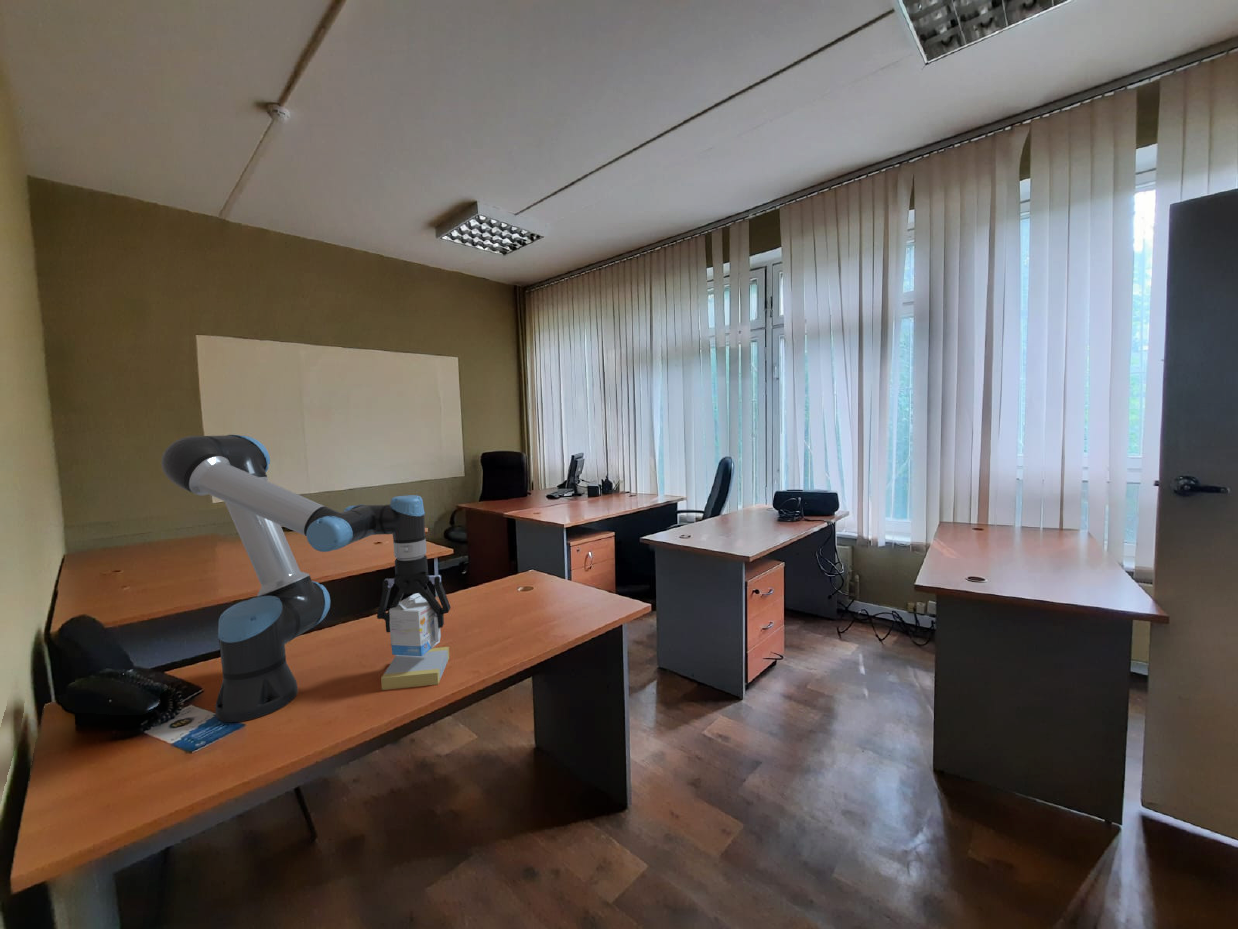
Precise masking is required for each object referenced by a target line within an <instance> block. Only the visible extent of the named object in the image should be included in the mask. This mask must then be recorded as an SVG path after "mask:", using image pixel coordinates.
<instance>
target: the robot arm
mask: <svg viewBox="0 0 1238 929" xmlns="http://www.w3.org/2000/svg"><path fill="white" fill-rule="evenodd" d="M269 464H271V458H270V453H269V451H268V449H267V447H266V446H265V445H264V444H263V443H262V442H260V441H259V440H258V439H255V438H253V437H251V436H246V435H240V434H239V435H238V434H227V435H203V436H202V435H192V436H191V435H190V436H185V437H183V438H179V439H178V440H176V441H174V442H172V443H171V444H170V445H169V446H167V448H166V449H165V450H164V452H163V454H162V456H161V468H162V471H163V473H164V474H165V477H166V478H167V479H168V480H170V482H171V483H173V484H174V485H176V486H178V487H179V488H181V489H183V490H185V491H187V492H189V493H193V494H194V495H197V496H207V495H210V496H212V497H213V498H217V499H218V500H221V501H223V502H224V504H225V506H226V509H227V510H228V513H229V514H230V515H229V516H230V517H231V519H232V521H233V524H234V527H235V529H236V531H237V533H238V536H239V538H240V540H241V542H242V545H243V547H244V549H245V552H246V554H247V556H248V558H249V560H250V562H251V566H252V567H253V570H254V573H255V574H256V577H257V579H258V581H259V584H260V586H261V587H260V589H259V592H258V593H257V596H256V597H252V598H250V599H248V600H243V601H242V600H241V601H240V602H237V603H235V604H233V605H231V606H230V607H228V608H227V609H226V610H224V611H223V612H222V613H221V614H220V617H219V618H218V629H217V637H218V642H219V650H220V652H219V653H220V654H219V655H220V661H221V662H220V663H221V670H222V682H221V685H220V689H219V692H218V696H217V699H216V702H215V706H214V708H215V717H216V719H217V718H218V719H220V720H222V721H221V722H226V723H238V722H245V721H250V720H253V719H254V720H255V719H258V718H260V717H261V718H262V717H263V716H266V715H268V714H269V715H270V714H271V713H273V712H276V711H277V710H280V709H282V708H284V707H285V706H287V705H288V704H289V703H291V702H292V701H293V700H294V699H295V698H296V696H297V695H298V692H299V691H298V682H297V680H296V678H295V677H294V675H293V673H292V671H291V669H290V666H289V665H288V663H287V657H286V644H288V643H290V642H291V641H292V640H294V639H296V638H297V637H299V636H300V635H302V634H304V633H305V632H307V631H310V630H311V629H313V628H315V627H316V626H317V625H318V624H319V623H321V622H322V621H323V620H324V619H325V617H326V616H327V615H328V612H329V610H330V608H331V597H330V593H329V591H328V590H327V588H326V587H325V586H324V585H323V584H320V583H319V582H318V581H314V580H313V579H312V578H311V577H312V576H311V575H310V574H309V573H307V572H304V571H301V570H300V567H299V565H298V563H297V560H296V558H295V556H294V553H293V551H292V549H291V546H290V545H289V542H288V539H287V538H286V535H285V532H284V531H283V528H282V527H284V528H286V529H289V530H291V531H294V532H296V533H298V534H300V535H303V536H304V537H306V539H307V542H308V544H309V545H310V546H311V547H312V549H314V550H316V551H318V552H322V553H327V552H332V551H338V550H340V549H342V548H345V547H346V546H348V545H350V544H353V543H354V542H358V541H361V540H363V539H365V538H368V537H371V536H376V535H379V536H380V535H392V540H393V541H392V542H393V543H392V544H393V555H394V556H393V557H394V558H395V560H394V570H395V576H394V578H389V577H387V578H385V579H384V580H383V581H382V583H381V584H382V585H381V586H382V594H381V597H380V598H381V599H380V601H379V605H378V610H377V613H376V618H377V619H378V620H384V621H385V632H386V633H387V634H388V633H389V634H390V635H389V636H390V638H391V628H390V614H389V610H388V611H387V606H388V603H389V599H390V598H389V597H390V595H391V590H392V587H393V586H394V584H395V585H396V586H397V588H398V592H397V593H396V596H395V598H394V599H393V602H392V603H391V605H390V607H389V609H391V608H396V607H397V605H398V604H399V602H400V601H402V600H403V597H404V595H410V594H415V593H419V594H420V595H421V596H422V597H423V598H424V599H426V601H427V602H428V603H429V605H430V606H431V608H432V609H433V610H434V612H435V613H436V615H435V616H434V627H435V642H439V640H440V641H441V636H442V634H441V628H443V627H444V625H445V620H444V615H445V614H448V613H449V612H450V610H451V609H452V608H451V607H452V606H451V604H450V601H449V599H448V597H447V593H446V591H445V589H444V585H443V583H442V574H440V573H438V574H436V575H430V573H429V569H428V568H429V566H428V556H427V555H426V554H427V552H428V551H427V539H426V538H427V537H426V525H425V524H426V522H425V519H426V518H425V514H426V512H425V507H424V501H423V498H422V497H421V496H420V495H416V494H415V495H414V494H409V495H399V496H398V495H397V496H393V497H392V498H391V499H390V503H389V504H359V505H349V506H347V507H345V509H344V510H343V511H342V512H341V511H340V512H339V511H337V510H334V509H332V508H330V507H327V506H326V505H323V504H320V503H318V502H316V501H314V500H312V499H309V498H307V497H304V496H303V495H300V494H298V493H295V492H293V491H290V490H289V489H286V488H283V487H282V486H279V485H277V484H275V483H273V482H270V481H268V480H269V478H268V474H266V473H267V472H268V470H269V467H270V466H269ZM429 581H430V582H431V584H432V585H433V586H434V589H435V592H436V594H437V597H438V599H439V601H437V600H438V599H437V598H436V597H435V596H434V594H433V593H432V592H431V590H430V587H429V586H428V585H427V584H428V583H429ZM439 602H440V603H439ZM386 611H387V612H386ZM439 643H440V642H439ZM390 646H391V647H392V643H391V642H390ZM218 719H217V720H218ZM220 720H219V721H220Z"/></svg>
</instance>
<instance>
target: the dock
mask: <svg viewBox="0 0 1238 929" xmlns="http://www.w3.org/2000/svg"><path fill="white" fill-rule="evenodd" d="M449 659H450V647H449V646H444V647H443V646H442V647H433V648H432V649H430V650H429V651H428V652H426V653H425V654H424V655H423V656H406V655H394V657H393V659H392V661H391V662H390V664H389V666H388V667H387V668H386V670H385V672H384V673H383V675H382V676H381V678H380V680H381V681H380V682H381V684H380V685H381V690H382V691H387V690H397V689H407V688H415V687H423V686H424V687H425V686H433V685H434V686H435V685H439V683H440V681H441V679H442V676H443V674H444V671H445V669H446V666H447V664H448V661H449Z"/></svg>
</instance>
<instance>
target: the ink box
mask: <svg viewBox="0 0 1238 929" xmlns="http://www.w3.org/2000/svg"><path fill="white" fill-rule="evenodd" d="M436 600H437V601H438V599H436ZM438 602H439V601H438ZM388 611H389V614H390V628H391V637H390V644H391V643H392V646H391V654H392V656H396V655H406V656H423V655H424V654H425V653H426V652H428V651H429V650H430V649H432V648H435V647H436V645H438V644H439V643H441V639H440V640H439V642H435V627H434V616H435V615H436V613H435V612H434V610H433V609H432V608H431V606H430V605H429V603H428V602H427V601H426V599H425V598H424V597H423V596H422V595H421V594H420V592H419V593H412V595H410V596H408V597H406V598H404V599H401V601H400V602H399V604H398V605H397V607H396V608H391V609H390V608H389V609H388Z"/></svg>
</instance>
